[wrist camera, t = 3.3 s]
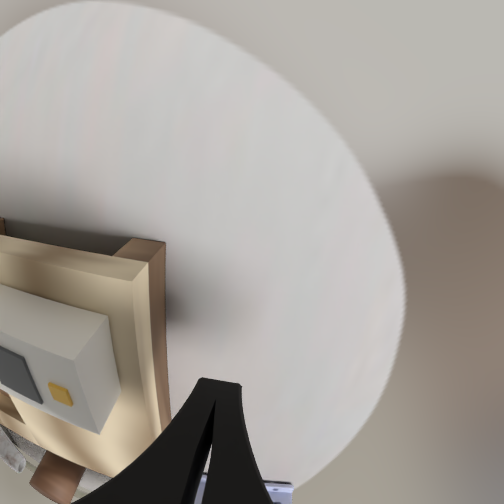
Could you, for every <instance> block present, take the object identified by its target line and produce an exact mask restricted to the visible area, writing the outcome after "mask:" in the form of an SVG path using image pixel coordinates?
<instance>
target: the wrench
mask: <svg viewBox="0 0 504 504" xmlns="http://www.w3.org/2000/svg"><path fill="white" fill-rule="evenodd" d="M0 457H1V459H2V460H3V461H4V462H5V463H6V464H7V465H8V466H9V467H10V468H12V469H13V470H15V471H16V472H18V473H21V472H22V471H23V469H24V467H25V465H26V458H25V457H24V456H23V455H22V454H21V453H20V451H19V450H18V449H17V448H16V447H15V445H14V444H13V443H12V441H11V440H10V439H9V437H8V436H7V435H6V433H5V432H4V431H3V429H2V428H1V427H0Z"/></svg>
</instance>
